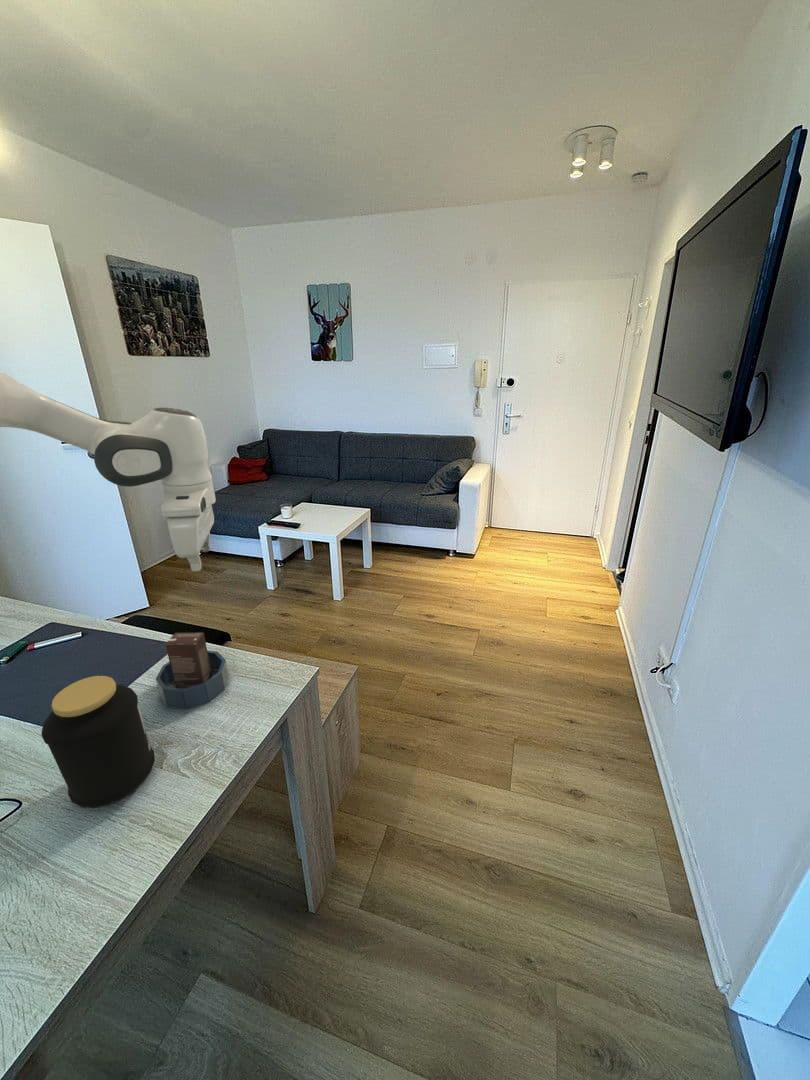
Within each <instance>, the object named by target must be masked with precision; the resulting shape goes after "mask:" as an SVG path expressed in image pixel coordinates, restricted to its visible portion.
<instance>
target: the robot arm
mask: <svg viewBox="0 0 810 1080" xmlns="http://www.w3.org/2000/svg"><path fill="white" fill-rule="evenodd" d="M0 428H12V429H22V430H28V431H31V432H34V433H38V434H41V435H44V436H47V437H49V438H52V439H55V440H57V441H61V442H63V443H66V444H68V445H71V446H73V447H77V448H80V449H81V450H84V451H86V452H88V453H90V454H91V455H93V461H94V465H95V468H96V470H97V471H98V473H99V474H100V475H101V476H102V477H103V478H104V479H105V480H106V481H108V482H110V483H112V484H114V485H117V486H120V487H127V488H128V487H129V488H130V487H138V486H141V485H147V484H150V483H154V482H157V481H161V486H162V487H161V488H162V496H163V500H162V503H161V509H160V510H161V515H162V517H163V518H164V519H165V518H167V521H166V522H167V529H168V533H169V538H170V541H171V544H172V547H173V551H174V553H175V555H176V556H177V557H178V558H180V559H185V558H186V559H187V561H188V563H189V565H190V571H192V572H201V570H202V569H203V561H202V559H201V557H200V553H208V552H210V550H211V542H210V541H211V539H210V538H211V529H212V527H213V525H214V523H215V515H214V510H213V505H214V504H216V501H217V498H216V491H215V485H214V479H213V475H212V473H211V470H210V468H209V459H210V453H209V447H208V442H207V437H206V434H205V433H206V432H205V429H204V426H203V424H202V421H201V420H200V418H199V417H198V416H197V415H196V414H195V413H193V412H190V411H188V410H184V409H179V408H174V407H173V408H172V407H155V408H153V409H152V410H151V411H150V412H148V414H146V415H145V416H143V417H142V418H139V419H138V420H136V421H134V422H130V421H129V422H128V421H119V420H118V421H117V420H107V419H102V418H98V417H96V416H93V415H91V414H89V413H86V412H84V411H81V410H79V409H77V408H74V407H72V406H69V405H67V404H64V403H62V402H59V401H57V400H56V399H53V398H50V397H48V396H46V395H44V394H41V393H39V392H38V391H35V390H34V389H32V388H31V387H28V386H27V385H25V384H24V383H22V382H20V381H18V380H17V379H15V378H13V377H11V376H10V375H8V374H7V373H5V372H3V371H1V370H0Z"/></svg>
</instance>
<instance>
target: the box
mask: <svg viewBox="0 0 810 1080" xmlns="http://www.w3.org/2000/svg"><path fill="white" fill-rule="evenodd" d="M206 641H207V640H206V637H205V632H175V633H173V635H172V636H170V638H169V639H168V641H167V642H165V644H164V645H165V650H166V653H167V657H168V662H169V661H170V666H171V670H172V674H173V678H174V681H173V682H174V686H175V687H174V688H181V689H184V688H187V687H191V686H194V685H198V684H201V683H204V682H206V681H207V680H208V679H210V678H211V677H212V676H213V672H212V671H213V670H212V669H211V667H210V662H209V656H208V651H209V650H208V647H207V642H206Z"/></svg>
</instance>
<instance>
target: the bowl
mask: <svg viewBox="0 0 810 1080" xmlns="http://www.w3.org/2000/svg"><path fill="white" fill-rule="evenodd" d="M207 651H208V656H209V662H210V667H211V671H213V670H214V671H218V672H216V673H215V674H213V675H212V677H211V678H210V679H208V680H207V681H206V682H204V683H201V684H198V685H194V686H191V687H187V688H184V689H181V688H176V687H172V686H170V684H172V683H173V682H174V678H173V674H172V670H171V666H170V661H169V660H168V662H166V663H165V664H163V665H162V666H161V668H160V669H159V672H158V673H157V675H156V677H155V682H156V686H157V690H158V695H159V697H160V699H161V700H162V702H163V703H164V704H165V706H166V707H167V708H173V709H179V710H180V709H181V710H189V709H192V708H196V707H198V706H199V707H200V706H202V705H205V704H206V705H207V704H209V703H210V702H212V701H213V700H214V699H215V698H217V697H218V696H219V695H220V694H222V693H223V692H224V691H225V690H226V688H227V684H228V680H229V677H230V676H229V672H228V666H227V661H226V660H227V659H225V658H224V657H223V655H221V654H220V652H219V651H214V650H207Z"/></svg>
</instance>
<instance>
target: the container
mask: <svg viewBox="0 0 810 1080" xmlns="http://www.w3.org/2000/svg"><path fill="white" fill-rule="evenodd" d="M51 710H52V711H51V712H50V713H49V715H48V716H47V717H46V719H45V720H44V722H43V724H42V728H41V738H42V740H43V742H44V743H45V744H46V745H47V746H48V748H49V750H50V753H51V755H52V756H53V759H54V760H55V763H56V765H57V768H58V770H59V771H60V774H61V776H62V778H63V780H64V782H65V784H66V786H67V788H68V789H67V795H68V797H69V799H70V801H71V802H72V803H73V804H75V805H77V806H79V808H86V809H87V808H88V809H96V808H101V807H107V806H110V805H112V804H115V803H117V802H118V801H122V800H123V799H124V798H126V797H127V796H129V795H131V794H132V793H134V792H135V791H136V790H137V789H138V788H139V787H140V786H142V784H143V783H145V781H146V780H147V778H148V777H149V776H150V774H151V773H152V770H153V767H154V765H155V761H156V758H155V757H156V756H155V750H154V749H153V748H152V747H151V745H150V741H149V738H148V734H147V730H146V727H145V724H144V720H143V716H142V713H141V710H140V705H139V698H138V695H137V693H136V692H135V691H134V690H133V688H131V687H129V686H126V685H123V684H117V683H116V681H115V680H114V679H113V678H112V677H110V676H107V675H94V676H89V677H85V678H82V679H79V680H78V681H75V682H73V683H71V684H69V685H67V686H66V687H64V688H62V689H61V690H60V691H59V692H58V693H56V695H55V696H54V697H53V699H52V702H51Z"/></svg>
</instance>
